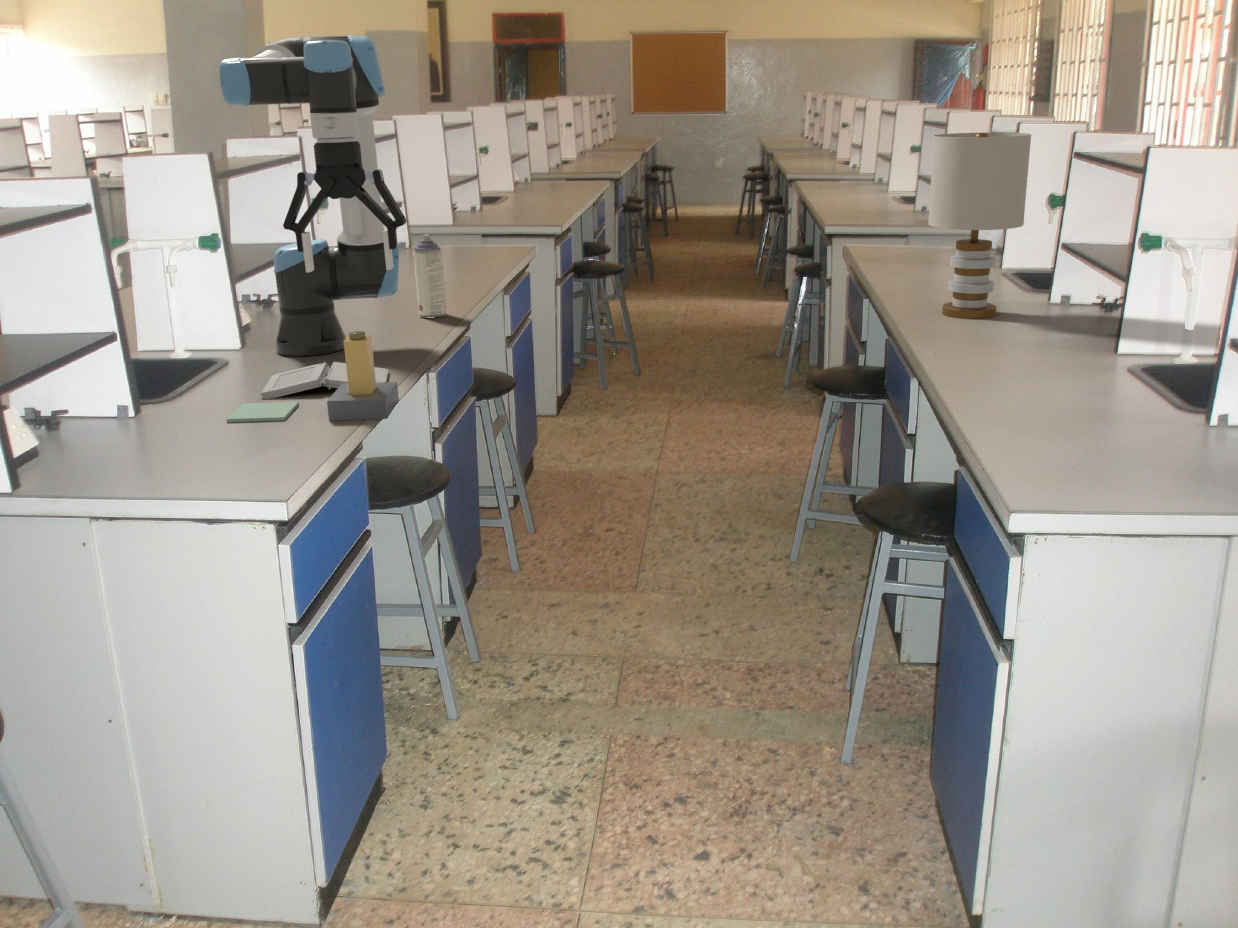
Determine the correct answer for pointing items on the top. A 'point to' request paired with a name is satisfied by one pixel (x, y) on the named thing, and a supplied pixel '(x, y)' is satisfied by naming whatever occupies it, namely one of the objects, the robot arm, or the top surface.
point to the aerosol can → (429, 278)
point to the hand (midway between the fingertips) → (350, 270)
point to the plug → (360, 364)
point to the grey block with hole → (363, 403)
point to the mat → (263, 412)
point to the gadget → (312, 379)
